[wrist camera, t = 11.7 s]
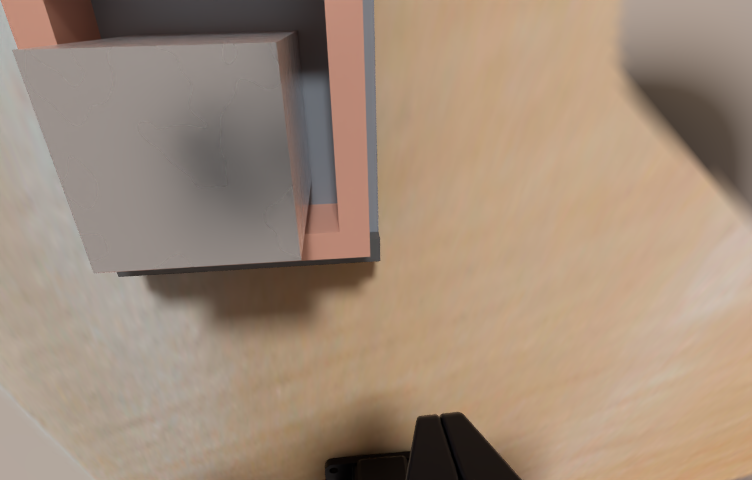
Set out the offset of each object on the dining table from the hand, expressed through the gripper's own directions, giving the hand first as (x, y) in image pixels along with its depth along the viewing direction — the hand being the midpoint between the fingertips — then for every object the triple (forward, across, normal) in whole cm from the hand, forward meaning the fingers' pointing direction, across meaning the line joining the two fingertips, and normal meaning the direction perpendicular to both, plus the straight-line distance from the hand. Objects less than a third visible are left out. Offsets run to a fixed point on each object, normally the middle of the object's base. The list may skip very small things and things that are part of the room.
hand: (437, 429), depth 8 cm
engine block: (+10, +5, -4) cm, 12 cm away
